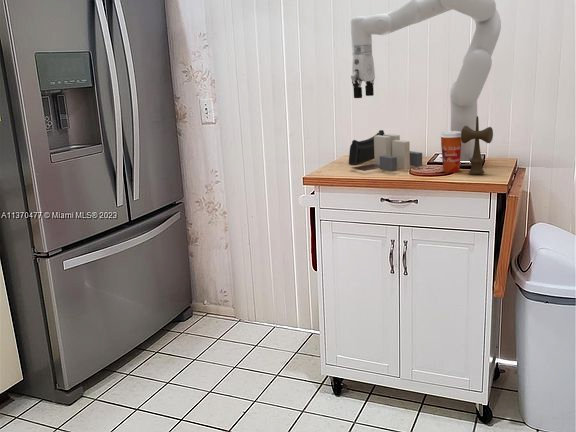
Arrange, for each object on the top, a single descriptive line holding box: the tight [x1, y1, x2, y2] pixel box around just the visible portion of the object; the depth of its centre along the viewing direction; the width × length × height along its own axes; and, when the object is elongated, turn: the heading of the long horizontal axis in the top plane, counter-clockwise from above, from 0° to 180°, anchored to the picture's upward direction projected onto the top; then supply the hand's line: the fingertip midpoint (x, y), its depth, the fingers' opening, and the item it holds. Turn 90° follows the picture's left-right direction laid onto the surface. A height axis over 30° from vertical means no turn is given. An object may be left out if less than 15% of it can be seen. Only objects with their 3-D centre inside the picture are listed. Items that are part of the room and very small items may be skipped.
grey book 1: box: [379, 155, 398, 172], centre depth 218 cm, size 7×2×6 cm, turn 29°
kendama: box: [461, 115, 494, 176], centre depth 204 cm, size 6×10×20 cm, turn 52°
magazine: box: [348, 129, 385, 166], centre depth 243 cm, size 17×3×30 cm
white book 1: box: [373, 135, 391, 165], centre depth 227 cm, size 7×2×11 cm, turn 29°
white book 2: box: [383, 133, 401, 156], centre depth 229 cm, size 7×2×11 cm, turn 29°
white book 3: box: [392, 139, 411, 170], centre depth 220 cm, size 7×2×11 cm, turn 29°
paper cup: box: [439, 130, 461, 174], centre depth 212 cm, size 8×8×14 cm
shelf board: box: [351, 163, 380, 172], centre depth 228 cm, size 9×17×1 cm, turn 119°
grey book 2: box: [410, 150, 423, 168], centre depth 224 cm, size 7×2×6 cm, turn 29°
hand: (363, 96), depth 229 cm, fingers open, 9 cm apart
